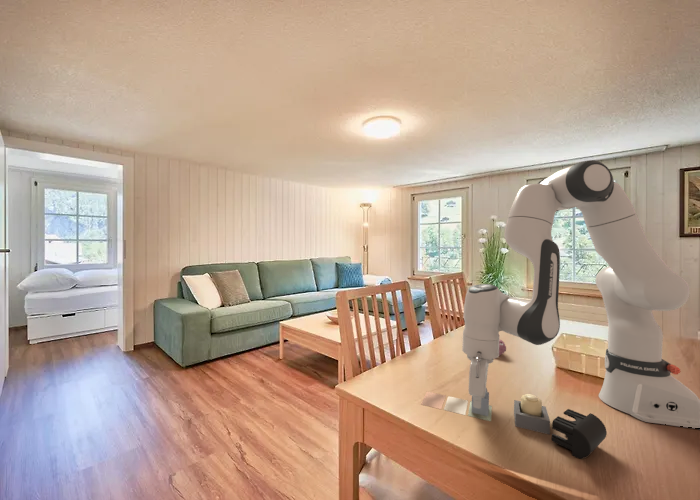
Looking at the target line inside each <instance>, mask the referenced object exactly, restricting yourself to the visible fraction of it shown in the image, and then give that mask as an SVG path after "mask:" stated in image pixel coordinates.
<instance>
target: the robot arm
mask: <svg viewBox="0 0 700 500" xmlns="http://www.w3.org/2000/svg"><path fill="white" fill-rule="evenodd" d="M573 208H577V209H578V210H579V211H580V212H581V214H582V218H583V220H584V224H585V226H586V229H587V232H588V234H589V236H590V240H591V242H592V244H593V247H594V249H595V252H596V253H597V254H598V255H599V256H600V257H601V258H602V259H603V260H604V261H605V262H606V263H607V264H608V266H606V267H604V268H602V269H600V270H599V272H597V274H596V276H595V285H596V288H597V289H598V291H599V292H600V295H601V297H602V301H603V304H604V305H603V306H604V309H605V312H606V319H607V325H608V332H607V333H608V334H607V348H606V349H605V355H604V368H605V374H604V378H603V379H604V380H603V382H602V383H603V384H602V386H601V389H600V391H599V393H598V398H599V399H600V400H601V401H602V402H603V403H604V404H606V405H608V406H610V407H612V408H614V409H616V410H619V411H621V412H623V413H626V414H628V415H631V416H632V417H633V418H636V419H638V420H640V421H642V422H646V423H653V424H659V425H660V424H661V425H665V424H666V425H667V426H674V427H680V426H683V427H682V428H688V427H692V428H691V429H695V428H700V397H698V395H697V394H696V393H695V392H694V391H692V390H691V389H690V388H689V387H687V386H686V385H685V384H684V383H682V382H681V381H680V380H679V379H677V378H676V377H674V376H673V375H679V374H681V372H682V371H681V369H680V368H679V367H678V366H677V365H675V364H672V363H670V362H668V361H667V360H665V359H663V357H662V356H663V339H664V333H663V330H662V328H661V327H660V325H659V324H658V322H657V319H656V318H655V317H654V314H653V311H658V312H659V311H661V312H663V311H664V312H666V311H667V312H668V311H670V312H671V311H675V310H677V309H680V308H681V307H683V306H684V305H685V304H686V303H687V302H688V300H689V299H690V295H691V289H690V285H689V283H688V282H687V280H685V278H683V276H680V275H679V274H677V273H676V272H675V271H674V270H672V269H671V267H670V266H668V265H667V263H666V262H665V261H664V260H663V259H662V257H661V256H660V255H659V254H658V252H657V251H656V250H655V249H654V247H653V246H652V244H651V243H650V241H649V239H648V237H647V236H646V233H645V231H644V229H643V226H642V224H641V222H640V219H639V217H638V214H637V212H636V210H635V207H634V205H633V203H632V201H631V199H630V198H629V196H628V195H627V193H626V191H625V190H624V189H623V187H622V186H621V185H620V184H619V183H618V182H615V181H614V176H613V174H612V172H611V170H610V169H609V167H608V166H607V165H605V164H604V163H602V162H601V161H599V160H591V159H590V160H584V161H579V162H576V163H574V164H573V165H570V166H566V167H564V168H562V169H559V170H557V171H556V172H554V173H553V174H551V175H549V176H547V177H545V178H543V179H542V180H540V181H538V182H537V183H529V184H526V185H524V186H522V187H520V188H519V190H518V192H517V193H516V195H515V197H514V200H513V202H512V204H511V207H510V209H509V212H508V215H507V219H506V224H505V227H504V240H505V242H506V243H507V245H508V247H509V248H510V249H511V250H512V251H514V252H516V253H517V254H520V255H521V256H522V257H525V258H527V259H528V260H529V261H530V262H531V264H532V266H533V281H532V282H533V283H532V297H531V299H530V300H526V299H522V298H518V297H513V296H510V295H507V294H505V293H504V292H502V291H501V290H500V289H499V287H498V286H496V285H494V284H489V283H485V284H484V283H483V284H482V283H481V284H480V283H479V284H474V285H472V286H470V287H469V288H468V289H467V290H466V293H465V298H464V304H463V320H464V321H463V322H464V328H463V330H462V352H463V354H465V355H466V358H467V359H468V360H469V361H470V365H469V377H468V394H469V396H471V397H472V396H473V406H474V407H475V408H478V409H480V408H481V400H482V398H484V397H485V392H486V388H487V381H488V371H489V370H488V369H489V364H493V363H494V359H497V358H499V339H500V333H499V332H504V333H506V334H509V335H512V336H515V337H518V338H520V339H522V340H524V341H526V342H528V343H530V344H533V345H535V346H540V345H544V344H547V343H549V342H551V341H552V340H554V339H555V338H556V337H557V335H558V334H559V331H560V329H561V327H560V325H561V319H560V313H559V295H560V294H559V291H560V290H559V287H560V270H561V269H560V267H561V253H560V249H559V246H558V244H557V243H556V242H555V241H553V237H552V230H553V229H552V228H553V224H554V219H555V215H556V213H557V212H559V211H563V210H570V209H573ZM672 374H673V375H672Z"/></svg>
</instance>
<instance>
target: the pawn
mask: <svg viewBox="0 0 700 500" xmlns="http://www.w3.org/2000/svg"><path fill="white" fill-rule="evenodd" d="M471 401H472V411H471V412H472V413H476V414H480V415H484V416H488V413H489V405H490V392H489V391H488V389H487V387H486V392H485V397H484V398H482V400H481V408H480V409H478V408H475V407H474V406H473V396H472V395H471Z"/></svg>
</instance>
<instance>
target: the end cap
mask: <svg viewBox="0 0 700 500" xmlns="http://www.w3.org/2000/svg"><path fill="white" fill-rule="evenodd" d="M563 415H565V416H567V417H569V418H572V419H574V420H569V419H566V418H564V417H562V416H559V415H557V417H556V418H553V420H552V423H551V429H552V430H555V431H557V432H559V433H561V434H563V435H565V436H566V438H565V437H562V436H560V435H556V434H555V433H551V442H553V443H555V444H557V445H559V446H561V447H563V448H565V449H567V450H569V451H571V456H572V457H574V458H576V459H580V460H581V459H586V458H588V457H589V456H590V455H591V454H592V453H593V452H594V451H595V450H596V449H597V448H598V446H599V445H601V443H602V442H603V441H604V440H605V439H606V438H607V433H608V432H607V428H606V425H605V424H604V422H603V421H602V420H601V419H600V418H599V417H598V416H596V415H595V414H593V413H589V414H587V415H585V414H582V413H580V412H577V411H575V410H572V409H570V408H568V409H566V410H565V411H563Z"/></svg>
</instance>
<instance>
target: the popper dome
mask: <svg viewBox="0 0 700 500" xmlns="http://www.w3.org/2000/svg"><path fill="white" fill-rule="evenodd" d="M520 401H521V413H525V414H529V415H534V416H538V417H541V415H542V406H543V401H542V399H541V398H539V397H538V396H536V395H535V394H532V393H526V394H522V395H521V397H520Z"/></svg>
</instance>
